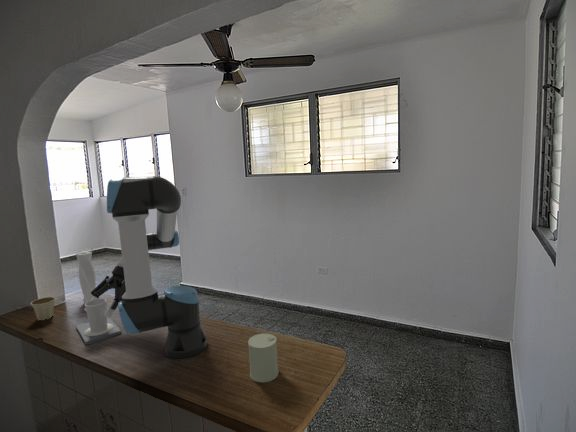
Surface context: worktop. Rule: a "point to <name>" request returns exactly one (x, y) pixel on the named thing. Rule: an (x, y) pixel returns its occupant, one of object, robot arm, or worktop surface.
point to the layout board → (94, 337)
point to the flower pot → (43, 307)
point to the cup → (97, 315)
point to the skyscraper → (86, 274)
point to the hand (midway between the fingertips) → (96, 314)
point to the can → (263, 357)
